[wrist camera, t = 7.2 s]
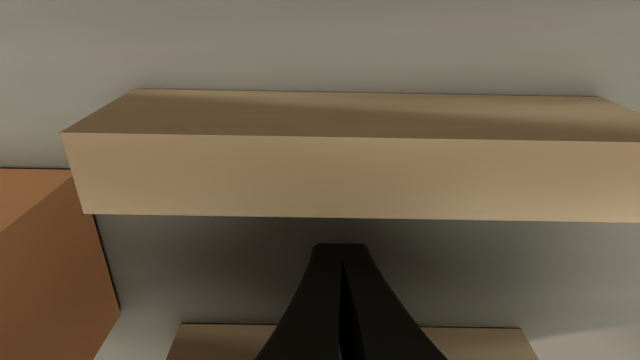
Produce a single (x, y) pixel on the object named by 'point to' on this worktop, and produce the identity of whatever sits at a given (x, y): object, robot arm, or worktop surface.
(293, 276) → the worktop surface
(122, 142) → the beige upright blocks
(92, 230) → the block
